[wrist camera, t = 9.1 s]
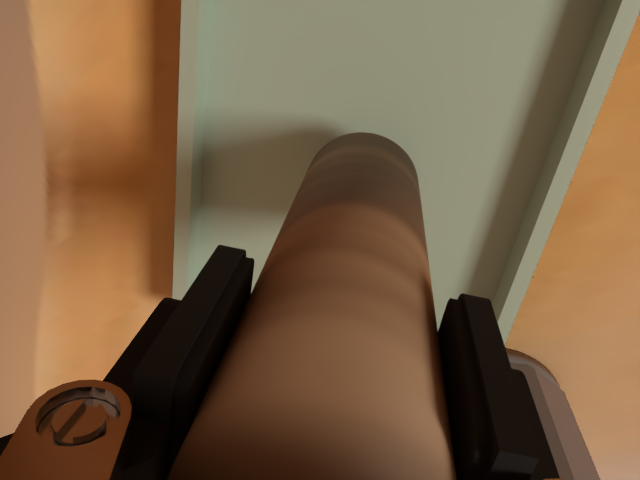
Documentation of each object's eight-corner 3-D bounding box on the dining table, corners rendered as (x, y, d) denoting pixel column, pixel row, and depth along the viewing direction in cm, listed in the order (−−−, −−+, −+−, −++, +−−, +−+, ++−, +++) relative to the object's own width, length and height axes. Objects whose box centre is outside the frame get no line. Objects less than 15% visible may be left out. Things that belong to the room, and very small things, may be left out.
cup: (429, 332, 24) (444, 481, 17) (586, 364, 24) (669, 530, 16) (394, 442, 27) (395, 605, 20) (532, 471, 27) (581, 648, 20)
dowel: (315, 122, 18) (168, 384, 6) (431, 144, 18) (505, 455, 6) (298, 226, 20) (162, 580, 8) (403, 247, 19) (420, 640, 8)
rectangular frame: (206, -106, 17) (184, -116, 15) (630, -33, 17) (658, -35, 15) (187, 293, 25) (171, 317, 23) (481, 354, 24) (488, 384, 22)
